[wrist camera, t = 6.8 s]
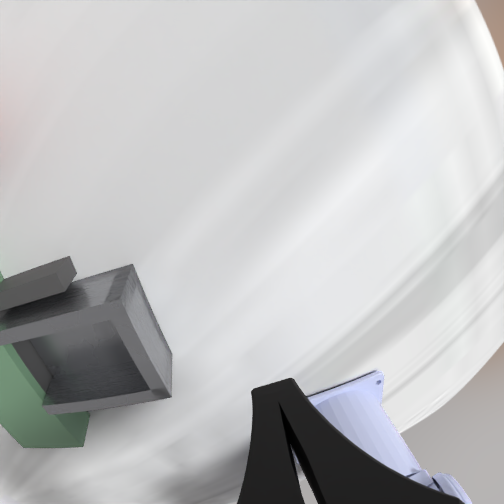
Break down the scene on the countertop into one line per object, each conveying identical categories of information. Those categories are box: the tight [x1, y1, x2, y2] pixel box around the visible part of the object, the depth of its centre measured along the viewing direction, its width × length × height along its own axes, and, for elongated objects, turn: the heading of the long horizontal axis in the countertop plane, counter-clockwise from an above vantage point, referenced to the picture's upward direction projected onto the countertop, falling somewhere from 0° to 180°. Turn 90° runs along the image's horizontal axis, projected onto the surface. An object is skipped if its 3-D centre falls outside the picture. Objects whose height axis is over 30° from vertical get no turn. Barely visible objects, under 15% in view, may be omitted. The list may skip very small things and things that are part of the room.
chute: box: [0, 264, 172, 415], centre depth 15 cm, size 6×8×4 cm
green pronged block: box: [0, 256, 90, 448], centre depth 14 cm, size 14×11×3 cm
